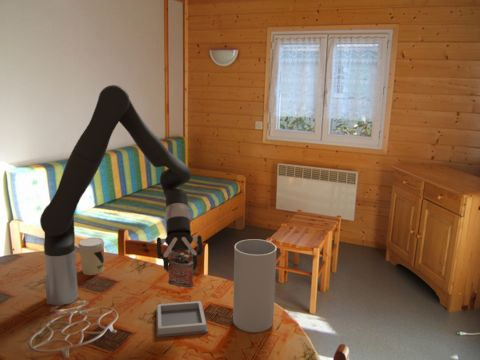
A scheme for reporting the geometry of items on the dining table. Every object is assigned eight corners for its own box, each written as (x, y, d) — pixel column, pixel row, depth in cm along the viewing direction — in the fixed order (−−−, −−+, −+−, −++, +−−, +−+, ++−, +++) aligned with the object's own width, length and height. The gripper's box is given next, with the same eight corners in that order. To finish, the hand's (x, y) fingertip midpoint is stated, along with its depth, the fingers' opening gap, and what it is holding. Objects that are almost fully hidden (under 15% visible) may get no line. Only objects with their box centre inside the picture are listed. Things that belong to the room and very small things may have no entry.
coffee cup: (101, 276, 164) (99, 246, 161) (76, 275, 164) (74, 245, 161) (109, 266, 173) (107, 237, 170) (85, 265, 173) (83, 236, 170)
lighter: (195, 283, 133) (195, 253, 131) (190, 288, 130) (190, 257, 128) (171, 279, 136) (171, 249, 133) (166, 284, 133) (165, 253, 130)
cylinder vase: (233, 311, 142) (235, 238, 136) (272, 312, 142) (275, 239, 136) (231, 332, 130) (233, 254, 124) (274, 334, 130) (277, 256, 124)
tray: (156, 337, 127) (156, 329, 126) (156, 310, 141) (155, 303, 141) (208, 332, 130) (208, 325, 129) (202, 307, 144) (202, 300, 144)
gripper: (154, 216, 135) (156, 267, 126) (201, 214, 137) (205, 263, 129) (155, 226, 141) (156, 275, 133) (199, 224, 144) (203, 272, 135)
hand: (180, 269), depth 131 cm, fingers closed on lighter, 7 cm apart
